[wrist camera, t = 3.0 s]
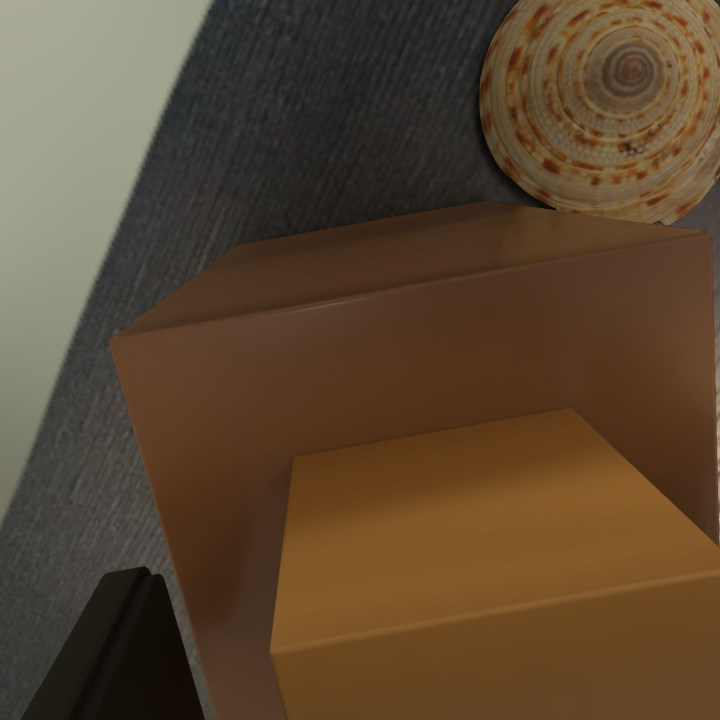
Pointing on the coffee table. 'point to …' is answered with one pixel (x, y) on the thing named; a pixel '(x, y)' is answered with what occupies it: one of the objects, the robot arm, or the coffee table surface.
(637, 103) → the seashell
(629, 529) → the block
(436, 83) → the coffee table surface
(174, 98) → the coffee table surface
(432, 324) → the riser
